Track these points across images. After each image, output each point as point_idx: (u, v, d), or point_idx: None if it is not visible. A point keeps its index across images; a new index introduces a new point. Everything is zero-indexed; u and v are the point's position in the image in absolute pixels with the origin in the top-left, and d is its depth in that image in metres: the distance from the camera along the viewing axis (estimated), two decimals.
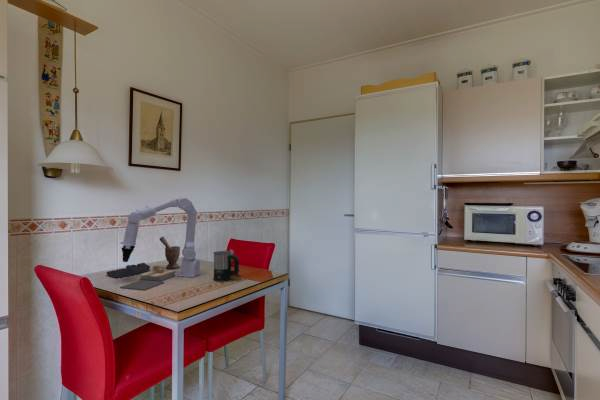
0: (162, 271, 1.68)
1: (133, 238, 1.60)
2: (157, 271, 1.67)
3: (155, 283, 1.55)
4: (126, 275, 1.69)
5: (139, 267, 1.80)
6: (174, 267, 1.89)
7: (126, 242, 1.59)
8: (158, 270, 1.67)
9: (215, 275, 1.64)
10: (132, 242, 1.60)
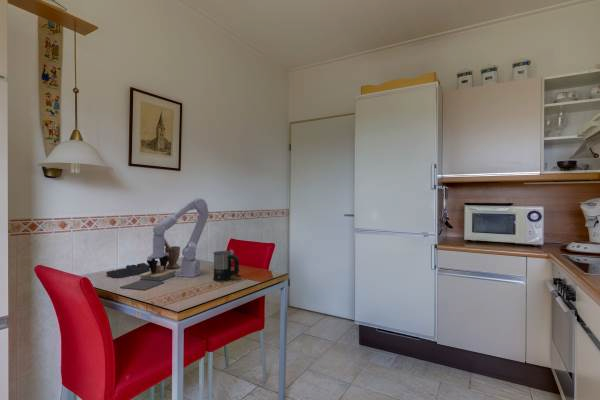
0: (162, 271, 1.68)
1: (158, 250, 1.65)
2: (157, 271, 1.67)
3: (155, 283, 1.55)
4: (126, 275, 1.69)
5: (139, 267, 1.80)
6: (174, 267, 1.89)
7: (153, 254, 1.66)
8: (158, 270, 1.67)
9: (215, 275, 1.64)
10: (157, 254, 1.65)
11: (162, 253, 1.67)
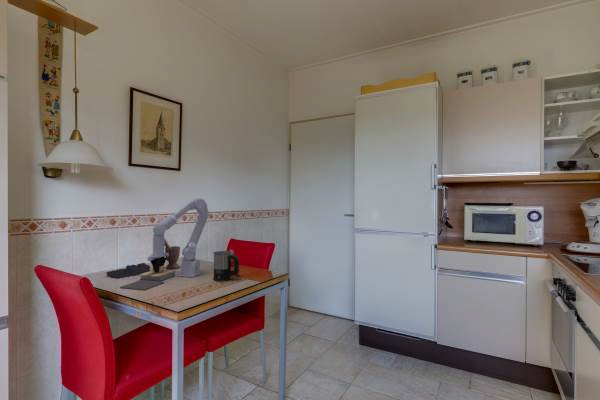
0: (162, 271, 1.68)
1: (158, 250, 1.65)
2: None
3: (155, 283, 1.55)
4: (126, 275, 1.69)
5: (139, 267, 1.79)
6: (174, 267, 1.89)
7: (153, 254, 1.66)
8: None
9: (215, 275, 1.64)
10: (157, 254, 1.65)
11: (162, 253, 1.67)
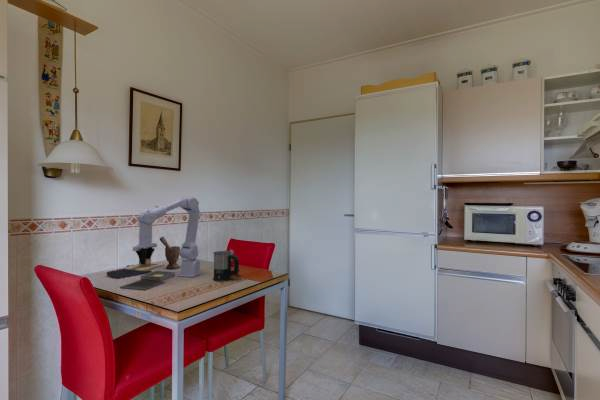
0: (149, 265, 1.54)
1: (144, 240, 1.52)
2: (143, 264, 1.53)
3: (155, 283, 1.55)
4: (126, 275, 1.69)
5: None
6: (174, 267, 1.89)
7: (139, 244, 1.52)
8: (145, 263, 1.53)
9: (215, 275, 1.64)
10: (144, 244, 1.52)
11: (149, 243, 1.53)
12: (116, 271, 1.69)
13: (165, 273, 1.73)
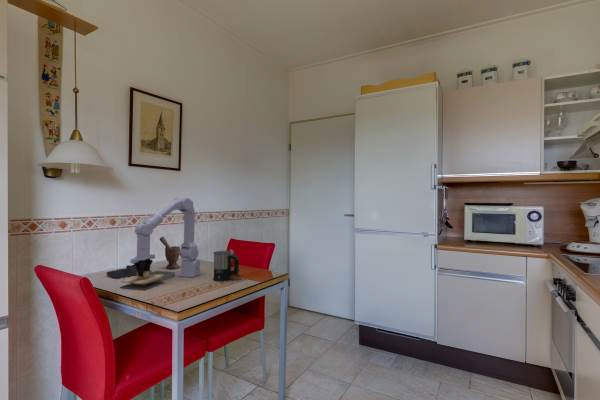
0: (147, 277, 1.52)
1: (142, 252, 1.50)
2: (141, 277, 1.51)
3: (155, 283, 1.55)
4: (126, 275, 1.68)
5: None
6: (174, 267, 1.89)
7: (137, 256, 1.50)
8: (143, 276, 1.51)
9: (215, 275, 1.64)
10: (142, 256, 1.50)
11: (147, 255, 1.52)
12: (116, 271, 1.69)
13: (165, 273, 1.73)
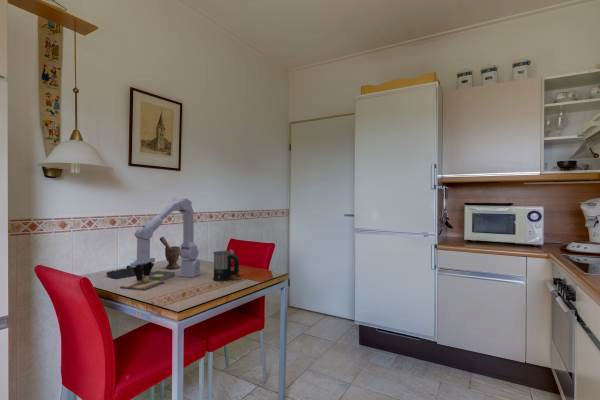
0: (147, 282, 1.52)
1: (142, 256, 1.50)
2: (141, 282, 1.51)
3: None
4: (125, 276, 1.68)
5: None
6: (174, 267, 1.89)
7: (137, 260, 1.50)
8: (142, 280, 1.51)
9: (215, 275, 1.64)
10: (142, 260, 1.50)
11: (147, 259, 1.52)
12: (116, 271, 1.69)
13: (165, 273, 1.73)
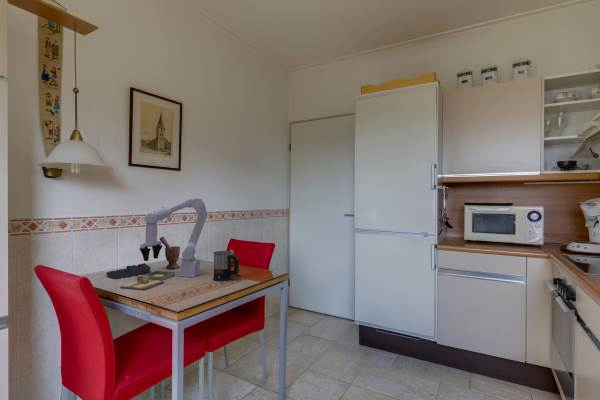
0: (147, 282, 1.52)
1: (150, 238, 1.67)
2: (141, 282, 1.51)
3: None
4: (125, 276, 1.68)
5: (139, 268, 1.78)
6: (174, 267, 1.89)
7: (146, 242, 1.68)
8: (142, 280, 1.51)
9: (215, 275, 1.64)
10: (150, 242, 1.67)
11: (155, 241, 1.69)
12: (115, 271, 1.68)
13: (165, 273, 1.73)
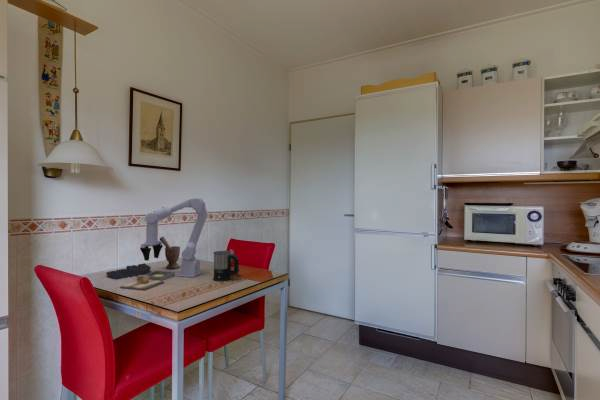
0: (147, 282, 1.52)
1: (151, 238, 1.69)
2: (141, 282, 1.51)
3: None
4: (125, 276, 1.67)
5: (139, 268, 1.78)
6: (174, 267, 1.89)
7: (146, 242, 1.69)
8: (142, 280, 1.51)
9: (215, 275, 1.64)
10: (151, 241, 1.69)
11: (155, 241, 1.70)
12: (115, 271, 1.68)
13: (165, 273, 1.73)
